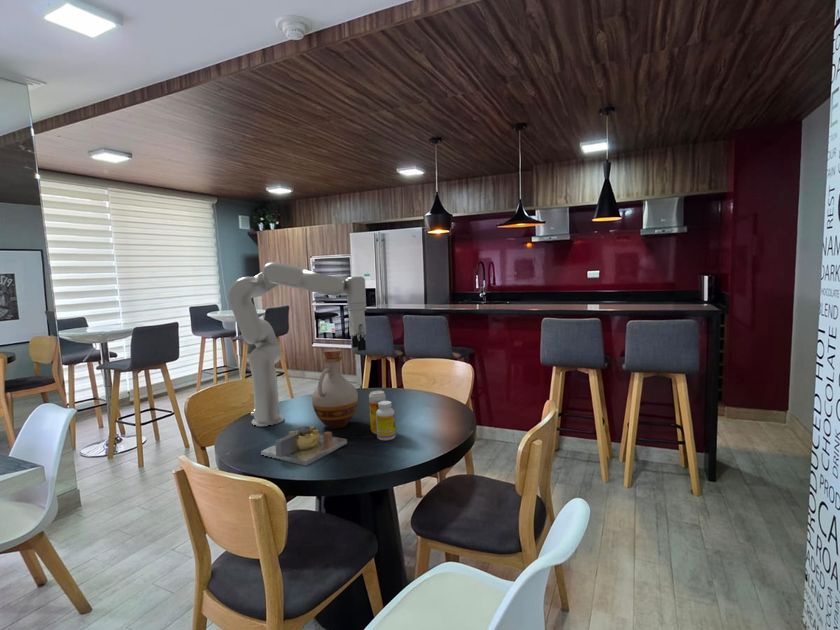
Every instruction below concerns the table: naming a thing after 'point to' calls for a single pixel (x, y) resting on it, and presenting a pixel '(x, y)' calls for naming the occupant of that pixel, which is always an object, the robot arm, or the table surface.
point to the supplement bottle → (385, 421)
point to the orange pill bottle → (375, 407)
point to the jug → (334, 394)
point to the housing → (309, 450)
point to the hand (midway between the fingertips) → (359, 348)
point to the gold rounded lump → (297, 440)
